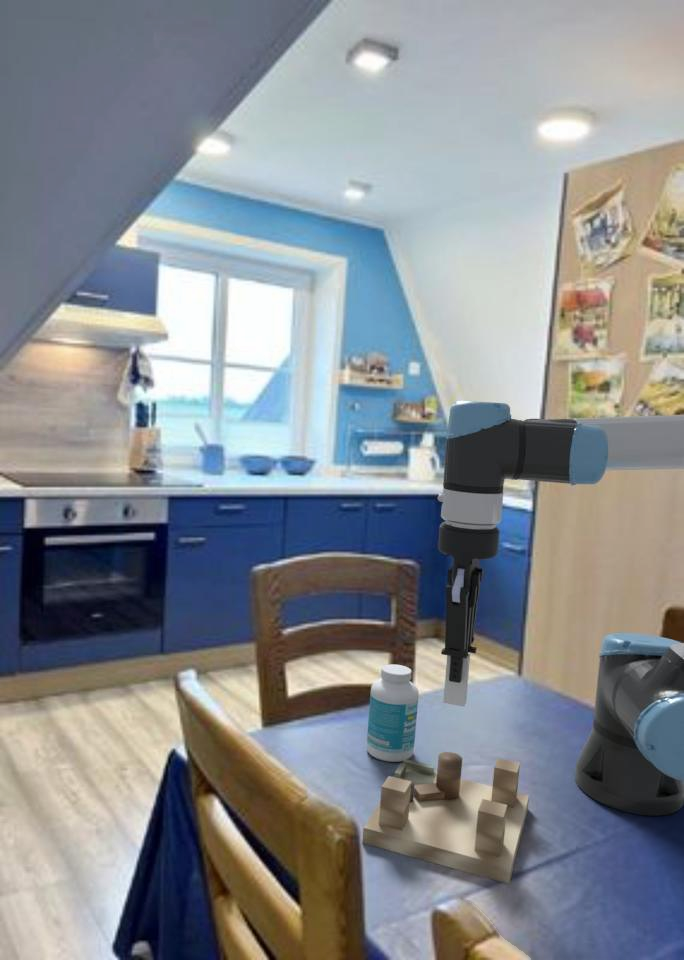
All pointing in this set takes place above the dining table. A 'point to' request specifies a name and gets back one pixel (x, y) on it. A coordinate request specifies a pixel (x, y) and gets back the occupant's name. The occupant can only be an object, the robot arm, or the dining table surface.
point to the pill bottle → (392, 715)
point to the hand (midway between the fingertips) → (454, 702)
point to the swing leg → (443, 779)
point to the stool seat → (452, 821)
